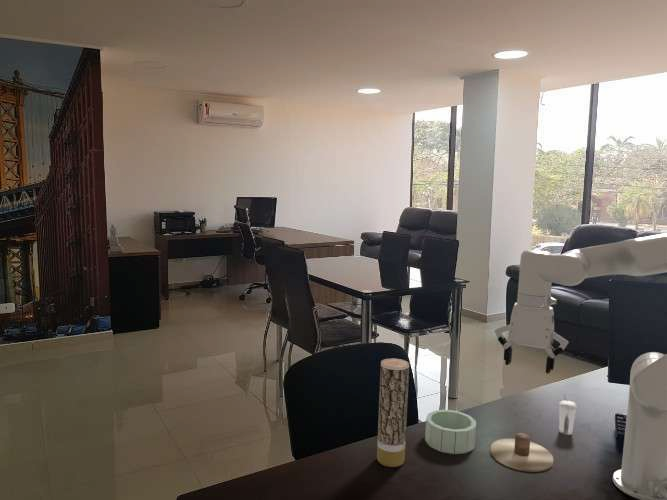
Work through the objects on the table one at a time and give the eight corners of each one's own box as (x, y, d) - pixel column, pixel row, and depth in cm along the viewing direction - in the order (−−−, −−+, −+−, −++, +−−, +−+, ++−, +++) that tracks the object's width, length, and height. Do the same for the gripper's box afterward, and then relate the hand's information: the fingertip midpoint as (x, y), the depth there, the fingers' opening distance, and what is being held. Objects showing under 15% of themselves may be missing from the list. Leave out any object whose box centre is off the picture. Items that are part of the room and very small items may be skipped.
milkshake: (570, 428, 150) (573, 394, 149) (576, 437, 145) (579, 402, 144) (553, 427, 151) (556, 393, 149) (559, 435, 145) (562, 401, 144)
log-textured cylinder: (382, 470, 125) (386, 368, 122) (372, 455, 132) (376, 359, 128) (408, 466, 127) (413, 366, 124) (398, 452, 133) (402, 357, 130)
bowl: (483, 451, 135) (485, 429, 135) (437, 455, 132) (438, 433, 132) (461, 428, 148) (462, 408, 147) (418, 432, 145) (419, 411, 144)
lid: (566, 470, 128) (568, 448, 127) (511, 475, 125) (512, 453, 124) (530, 440, 143) (531, 421, 142) (479, 445, 139) (481, 425, 139)
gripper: (574, 303, 127) (567, 371, 130) (501, 293, 137) (497, 356, 139) (569, 308, 121) (562, 379, 123) (493, 297, 130) (488, 364, 132)
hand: (527, 367), depth 131 cm, fingers open, 9 cm apart
